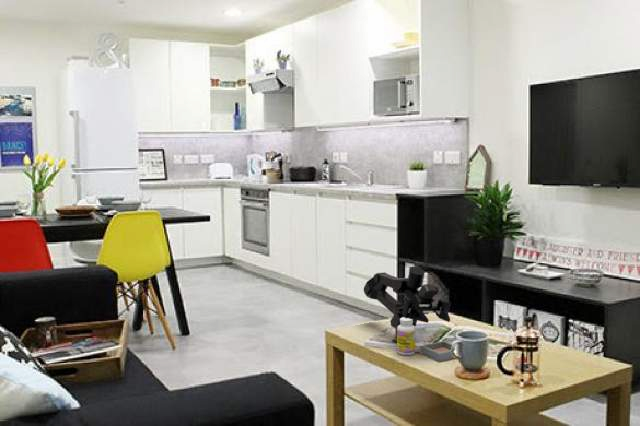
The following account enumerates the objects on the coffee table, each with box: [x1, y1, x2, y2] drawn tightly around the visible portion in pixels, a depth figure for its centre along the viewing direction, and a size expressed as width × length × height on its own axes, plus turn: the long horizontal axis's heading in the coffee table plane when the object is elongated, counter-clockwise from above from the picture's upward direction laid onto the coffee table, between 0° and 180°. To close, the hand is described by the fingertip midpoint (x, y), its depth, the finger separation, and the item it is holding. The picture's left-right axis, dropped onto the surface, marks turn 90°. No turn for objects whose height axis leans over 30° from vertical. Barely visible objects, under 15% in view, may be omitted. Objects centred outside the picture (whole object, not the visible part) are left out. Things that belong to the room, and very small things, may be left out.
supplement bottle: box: [396, 317, 416, 356], centre depth 249 cm, size 7×7×13 cm
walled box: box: [419, 340, 456, 363], centre depth 246 cm, size 11×11×3 cm
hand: (438, 321), depth 238 cm, fingers open, 9 cm apart
